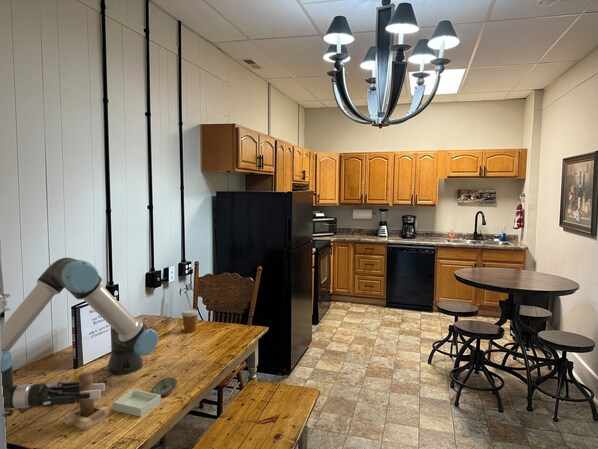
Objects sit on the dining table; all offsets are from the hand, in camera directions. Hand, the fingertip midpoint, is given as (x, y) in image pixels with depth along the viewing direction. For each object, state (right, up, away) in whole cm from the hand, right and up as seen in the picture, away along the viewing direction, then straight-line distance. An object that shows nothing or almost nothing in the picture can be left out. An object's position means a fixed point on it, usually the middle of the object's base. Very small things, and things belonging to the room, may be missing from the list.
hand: (102, 390), depth 149 cm
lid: (+15, -9, +22) cm, 28 cm away
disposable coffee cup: (+7, -3, +96) cm, 96 cm away
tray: (+9, -10, +10) cm, 17 cm away
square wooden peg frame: (-5, -11, 0) cm, 12 cm away
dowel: (-5, -9, 0) cm, 10 cm away
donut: (-26, -10, +16) cm, 32 cm away
